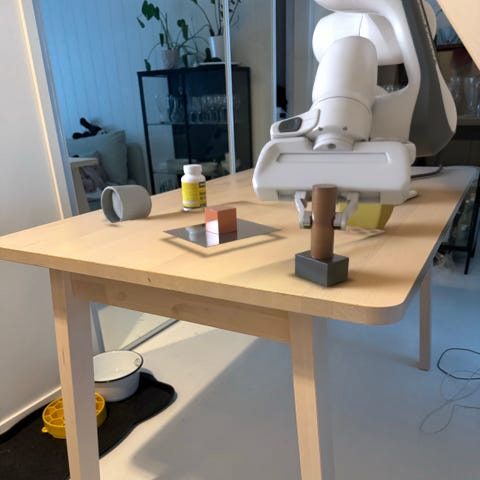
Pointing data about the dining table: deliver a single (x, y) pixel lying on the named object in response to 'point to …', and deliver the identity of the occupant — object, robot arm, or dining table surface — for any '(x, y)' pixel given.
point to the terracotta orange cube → (221, 219)
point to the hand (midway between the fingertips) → (321, 227)
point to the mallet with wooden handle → (322, 241)
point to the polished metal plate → (207, 239)
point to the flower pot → (369, 215)
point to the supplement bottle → (193, 187)
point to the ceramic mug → (125, 203)
